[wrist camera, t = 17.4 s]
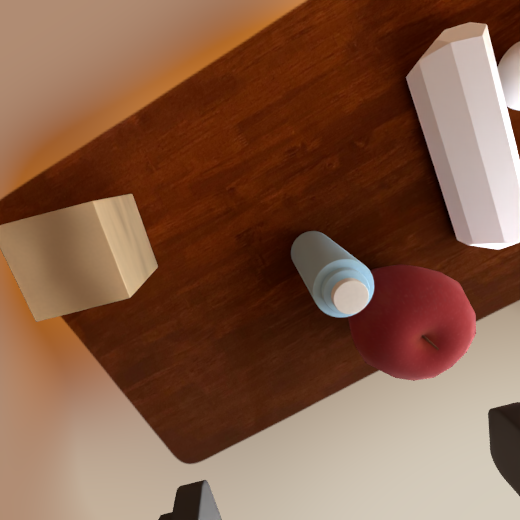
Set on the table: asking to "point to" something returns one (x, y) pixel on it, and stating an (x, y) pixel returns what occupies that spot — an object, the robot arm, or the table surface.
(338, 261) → the bottle
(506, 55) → the cylindrical container
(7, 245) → the cube
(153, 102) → the table surface
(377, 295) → the apple
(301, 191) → the table surface
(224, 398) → the table surface
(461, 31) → the crystal
